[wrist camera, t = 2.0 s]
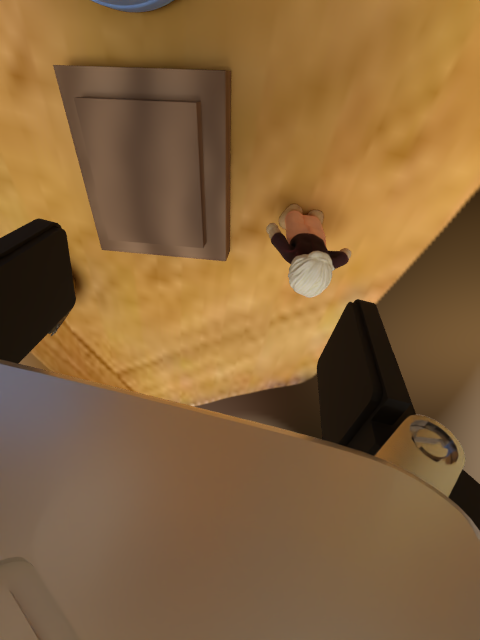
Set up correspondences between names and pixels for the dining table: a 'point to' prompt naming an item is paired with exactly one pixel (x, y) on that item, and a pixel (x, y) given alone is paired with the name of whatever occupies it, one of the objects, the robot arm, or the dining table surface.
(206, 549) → the robot arm
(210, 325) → the dining table surface
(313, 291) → the grandmother figurine
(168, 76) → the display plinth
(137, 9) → the water jug
